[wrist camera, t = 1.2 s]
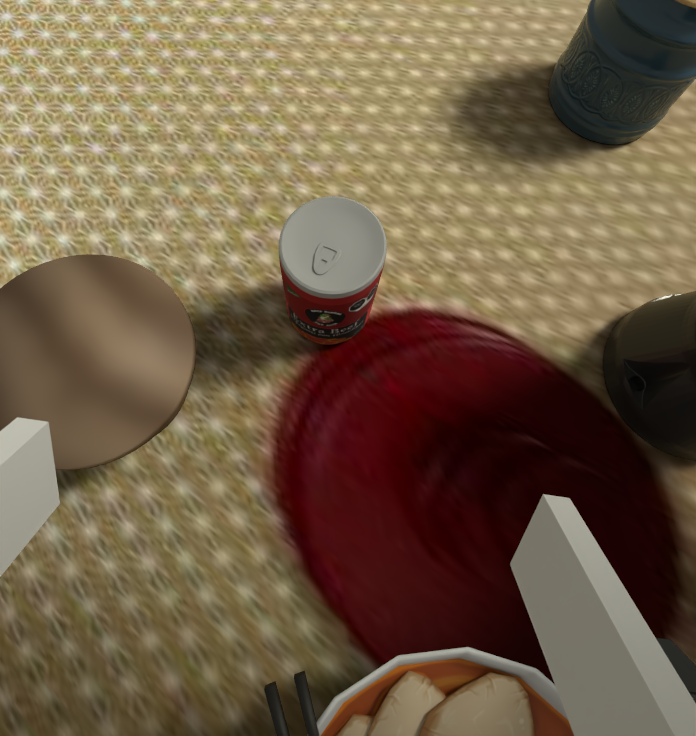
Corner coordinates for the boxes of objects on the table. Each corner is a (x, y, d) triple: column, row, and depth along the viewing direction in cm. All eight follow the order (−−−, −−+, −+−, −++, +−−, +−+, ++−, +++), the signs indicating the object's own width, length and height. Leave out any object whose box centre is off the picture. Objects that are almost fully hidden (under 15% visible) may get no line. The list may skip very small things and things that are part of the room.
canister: (671, 91, 53) (837, -102, 36) (632, 167, 49) (797, -7, 32) (571, 41, 54) (686, -168, 37) (526, 112, 51) (632, -84, 34)
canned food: (281, 341, 41) (268, 286, 30) (295, 263, 43) (288, 187, 33) (364, 353, 41) (381, 302, 31) (374, 275, 43) (392, 202, 33)
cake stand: (110, 263, 42) (71, 218, 35) (250, 357, 40) (237, 328, 34) (-23, 403, 38) (-97, 382, 31) (127, 515, 36) (84, 518, 29)
